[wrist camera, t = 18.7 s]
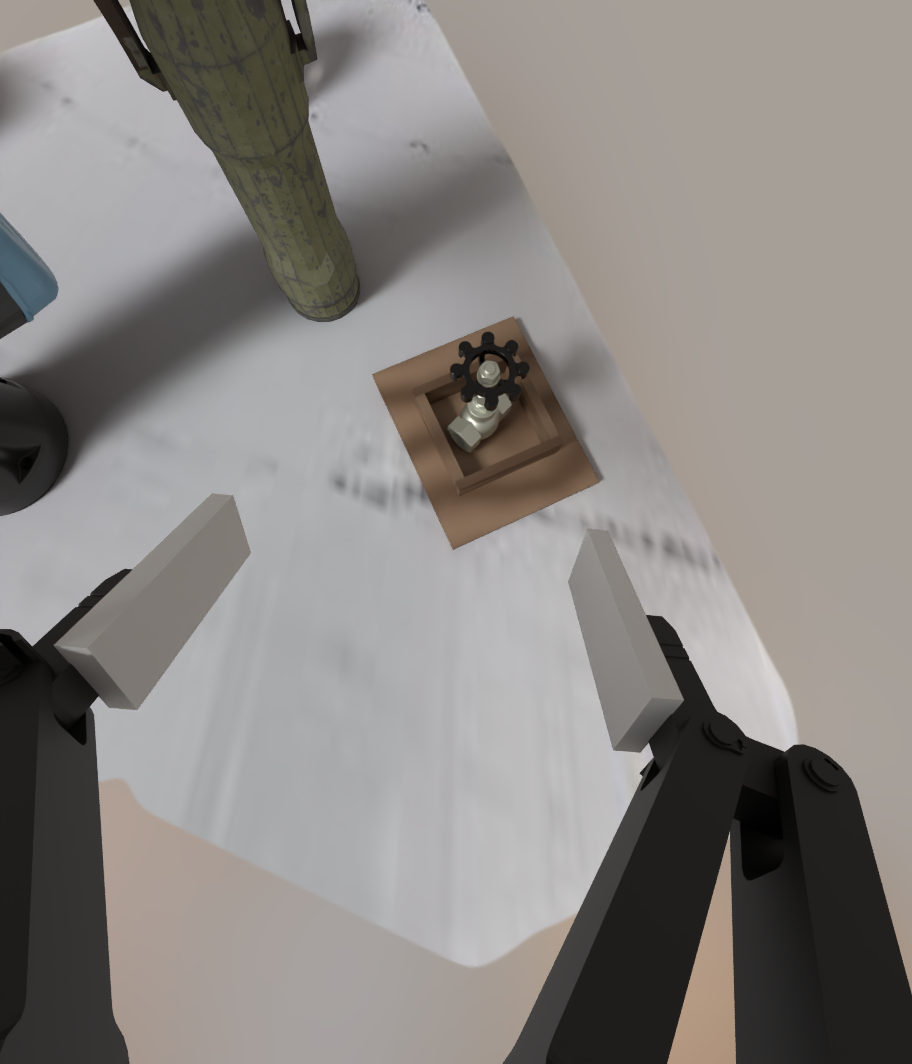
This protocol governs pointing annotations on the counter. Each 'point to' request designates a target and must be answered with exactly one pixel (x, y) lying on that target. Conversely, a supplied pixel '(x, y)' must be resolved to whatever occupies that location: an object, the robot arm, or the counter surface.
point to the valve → (484, 390)
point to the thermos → (252, 128)
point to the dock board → (484, 440)
